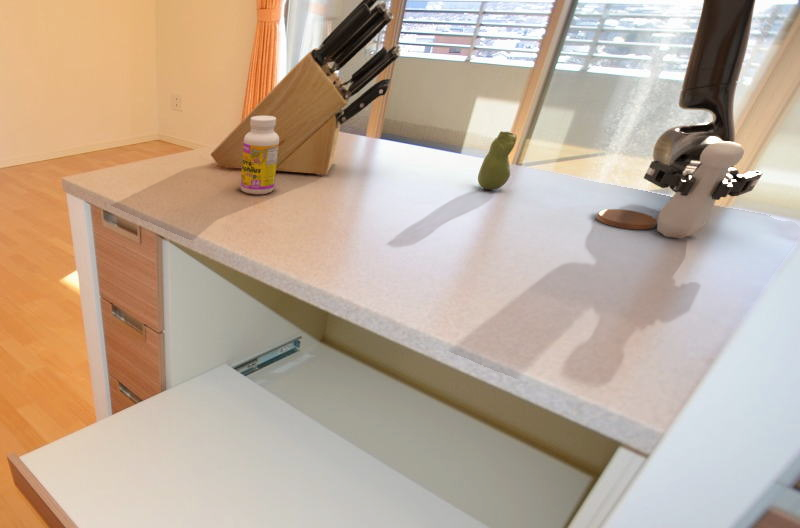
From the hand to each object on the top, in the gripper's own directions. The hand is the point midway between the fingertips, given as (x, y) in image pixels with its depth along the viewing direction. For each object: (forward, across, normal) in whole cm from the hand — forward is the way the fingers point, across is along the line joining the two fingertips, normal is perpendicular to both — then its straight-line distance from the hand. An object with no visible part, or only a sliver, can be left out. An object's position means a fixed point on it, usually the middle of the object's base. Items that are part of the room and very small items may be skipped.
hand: (704, 190), depth 76 cm
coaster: (-8, -6, +8) cm, 13 cm away
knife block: (-13, -68, +8) cm, 69 cm away
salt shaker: (-5, 0, +7) cm, 9 cm away
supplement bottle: (+7, -66, +8) cm, 67 cm away
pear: (-17, -28, +8) cm, 34 cm away
